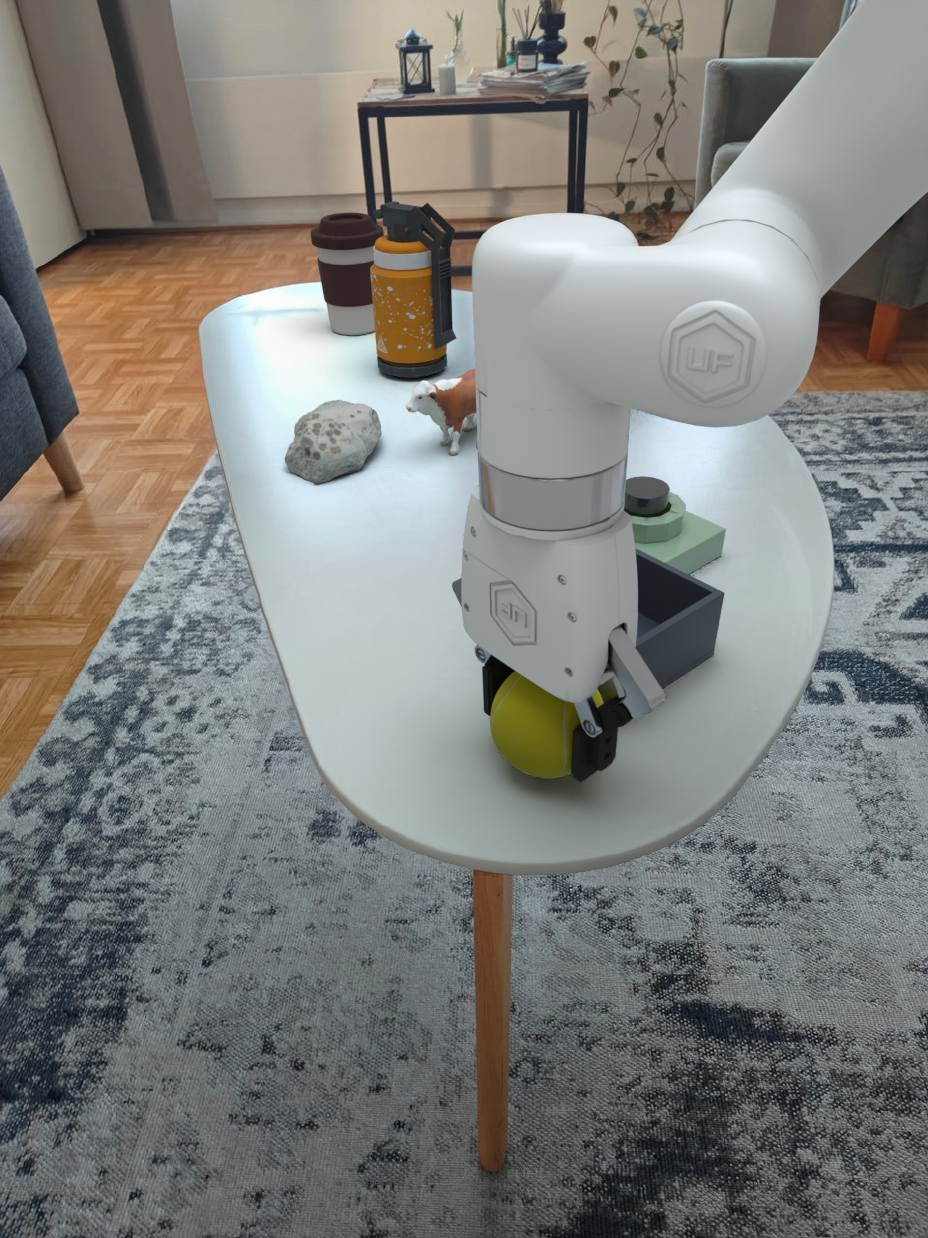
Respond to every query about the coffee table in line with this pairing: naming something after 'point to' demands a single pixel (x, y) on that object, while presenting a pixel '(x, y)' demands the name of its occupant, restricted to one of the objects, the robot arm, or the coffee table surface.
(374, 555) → the coffee table surface
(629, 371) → the robot arm
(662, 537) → the push button base
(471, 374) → the bull figurine
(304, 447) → the decorative stone
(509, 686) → the tennis ball
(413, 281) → the canister
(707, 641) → the bin
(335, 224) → the coffee cup
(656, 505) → the button top
